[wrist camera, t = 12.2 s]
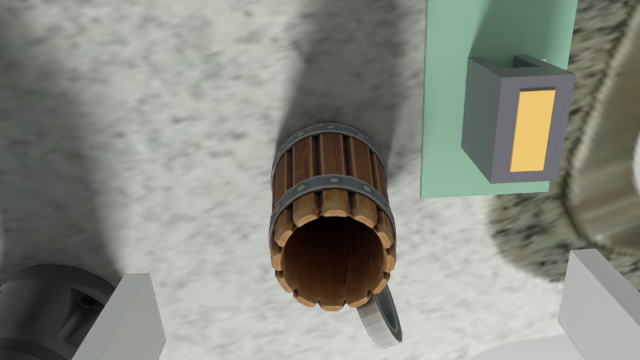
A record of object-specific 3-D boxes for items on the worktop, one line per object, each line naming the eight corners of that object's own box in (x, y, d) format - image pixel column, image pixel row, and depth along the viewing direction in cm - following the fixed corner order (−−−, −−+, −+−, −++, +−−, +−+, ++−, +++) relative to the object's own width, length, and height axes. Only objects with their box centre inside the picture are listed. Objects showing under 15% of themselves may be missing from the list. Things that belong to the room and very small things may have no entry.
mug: (251, 151, 44) (221, 235, 30) (352, 97, 42) (370, 161, 28) (330, 274, 49) (336, 392, 36) (423, 232, 47) (467, 339, 34)
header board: (420, 195, 46) (430, 218, 41) (426, -4, 38) (439, -1, 34) (545, 188, 45) (568, 211, 41) (575, -14, 38) (608, -11, 34)
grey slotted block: (460, 147, 43) (491, 184, 35) (467, 57, 40) (502, 78, 32) (516, 144, 43) (558, 181, 35) (527, 54, 40) (576, 74, 32)
